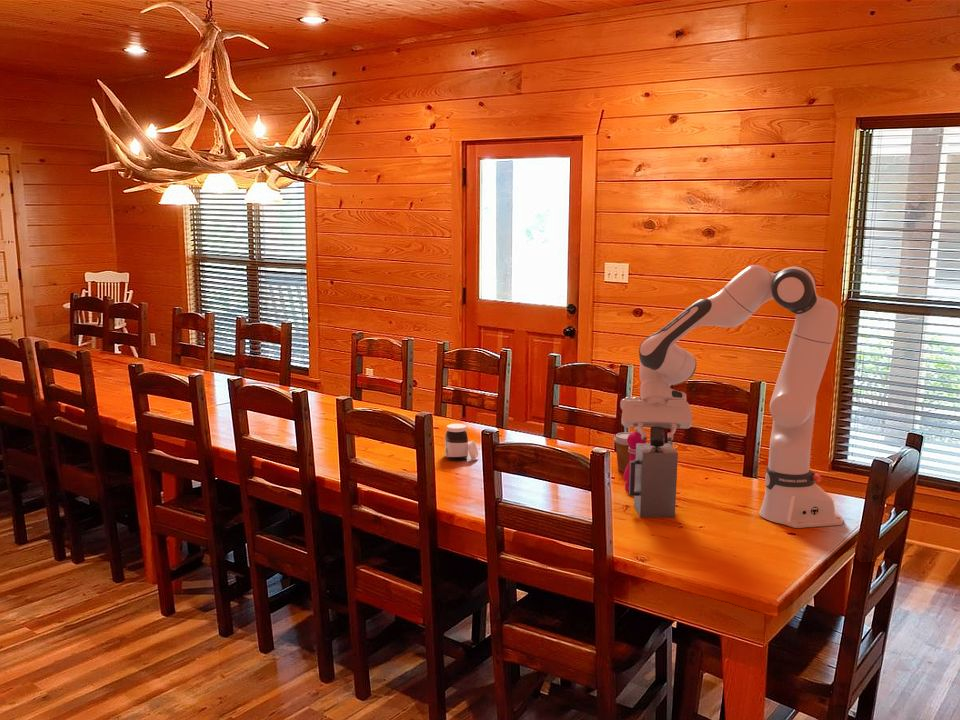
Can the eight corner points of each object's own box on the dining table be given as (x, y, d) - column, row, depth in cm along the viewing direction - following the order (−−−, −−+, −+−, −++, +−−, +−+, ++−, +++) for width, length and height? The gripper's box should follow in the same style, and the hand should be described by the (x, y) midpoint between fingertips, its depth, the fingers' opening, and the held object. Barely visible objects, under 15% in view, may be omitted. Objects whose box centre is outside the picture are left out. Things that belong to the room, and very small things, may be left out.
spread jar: (442, 454, 312) (442, 423, 310) (473, 452, 315) (473, 421, 313) (449, 464, 300) (449, 431, 298) (481, 462, 303) (482, 429, 301)
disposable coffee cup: (643, 474, 290) (645, 439, 288) (615, 474, 290) (616, 439, 288) (639, 466, 300) (640, 432, 297) (611, 465, 300) (612, 431, 298)
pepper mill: (646, 493, 271) (649, 431, 268) (622, 492, 272) (625, 429, 269) (646, 486, 278) (649, 425, 275) (623, 484, 279) (626, 424, 276)
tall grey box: (667, 505, 261) (670, 443, 257) (674, 517, 251) (677, 453, 247) (625, 505, 260) (628, 443, 257) (631, 517, 251) (634, 452, 247)
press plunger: (665, 480, 258) (668, 424, 255) (671, 489, 250) (674, 431, 247) (639, 480, 258) (641, 424, 255) (644, 488, 250) (646, 431, 247)
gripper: (620, 391, 257) (621, 432, 250) (691, 393, 255) (694, 434, 248) (619, 403, 263) (620, 443, 255) (688, 404, 261) (691, 445, 253)
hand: (657, 439), depth 251 cm, fingers open, 6 cm apart
